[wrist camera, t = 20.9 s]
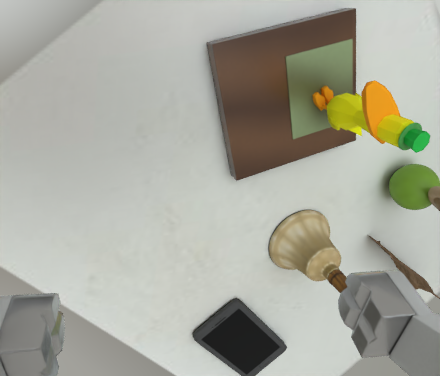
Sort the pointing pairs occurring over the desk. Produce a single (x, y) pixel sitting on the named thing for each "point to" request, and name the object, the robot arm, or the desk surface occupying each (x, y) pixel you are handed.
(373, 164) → the desk surface
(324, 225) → the hand bell
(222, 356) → the cell phone
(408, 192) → the snail figurine
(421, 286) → the wood plank
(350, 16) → the board
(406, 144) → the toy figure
